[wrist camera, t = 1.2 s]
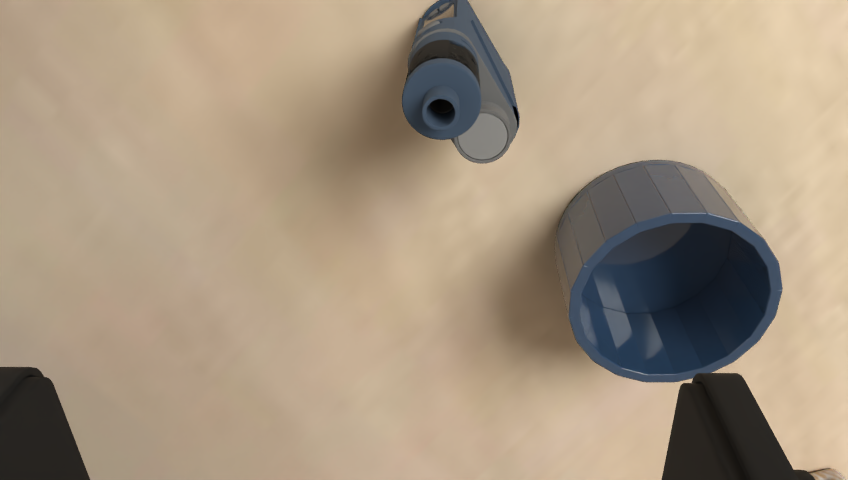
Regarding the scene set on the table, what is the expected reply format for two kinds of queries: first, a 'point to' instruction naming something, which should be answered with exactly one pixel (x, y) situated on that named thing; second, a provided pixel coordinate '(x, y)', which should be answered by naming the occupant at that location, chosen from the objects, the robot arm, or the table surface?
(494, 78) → the vaping device
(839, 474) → the decorative jar
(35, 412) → the robot arm
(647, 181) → the pen cup
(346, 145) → the table surface
